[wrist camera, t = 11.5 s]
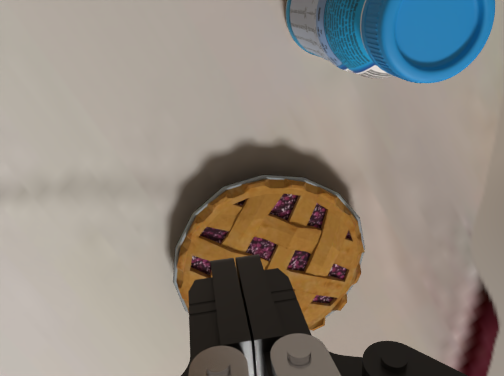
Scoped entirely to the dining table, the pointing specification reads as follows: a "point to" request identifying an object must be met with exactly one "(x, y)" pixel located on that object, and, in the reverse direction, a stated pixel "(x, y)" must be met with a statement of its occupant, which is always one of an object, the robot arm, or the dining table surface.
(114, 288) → the dining table surface
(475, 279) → the dining table surface
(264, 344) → the robot arm
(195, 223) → the pie
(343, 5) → the beverage bottle
